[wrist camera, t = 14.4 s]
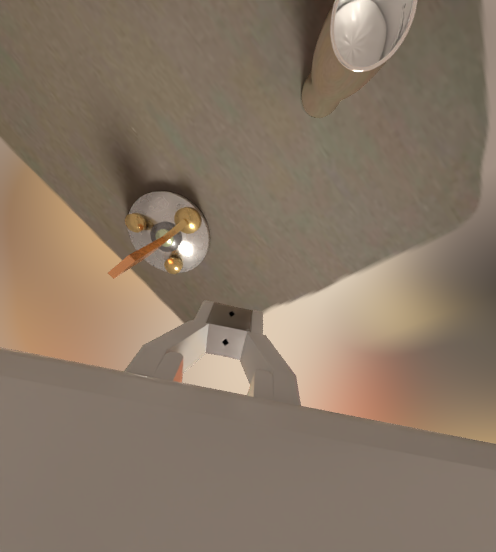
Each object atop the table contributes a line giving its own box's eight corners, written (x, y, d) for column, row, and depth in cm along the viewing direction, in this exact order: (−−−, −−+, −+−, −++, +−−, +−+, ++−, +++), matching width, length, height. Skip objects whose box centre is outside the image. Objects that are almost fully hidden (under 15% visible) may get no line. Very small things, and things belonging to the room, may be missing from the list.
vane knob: (190, 201, 35) (157, 210, 24) (206, 222, 37) (183, 240, 26) (143, 241, 40) (98, 264, 29) (159, 259, 41) (122, 286, 30)
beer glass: (353, 99, 28) (432, 27, 15) (311, 132, 31) (347, 95, 17) (334, 46, 26) (406, -94, 13) (289, 86, 28) (312, 3, 15)
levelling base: (116, 207, 39) (104, 209, 36) (188, 177, 35) (181, 177, 32) (158, 277, 46) (151, 283, 43) (222, 258, 42) (219, 264, 39)
